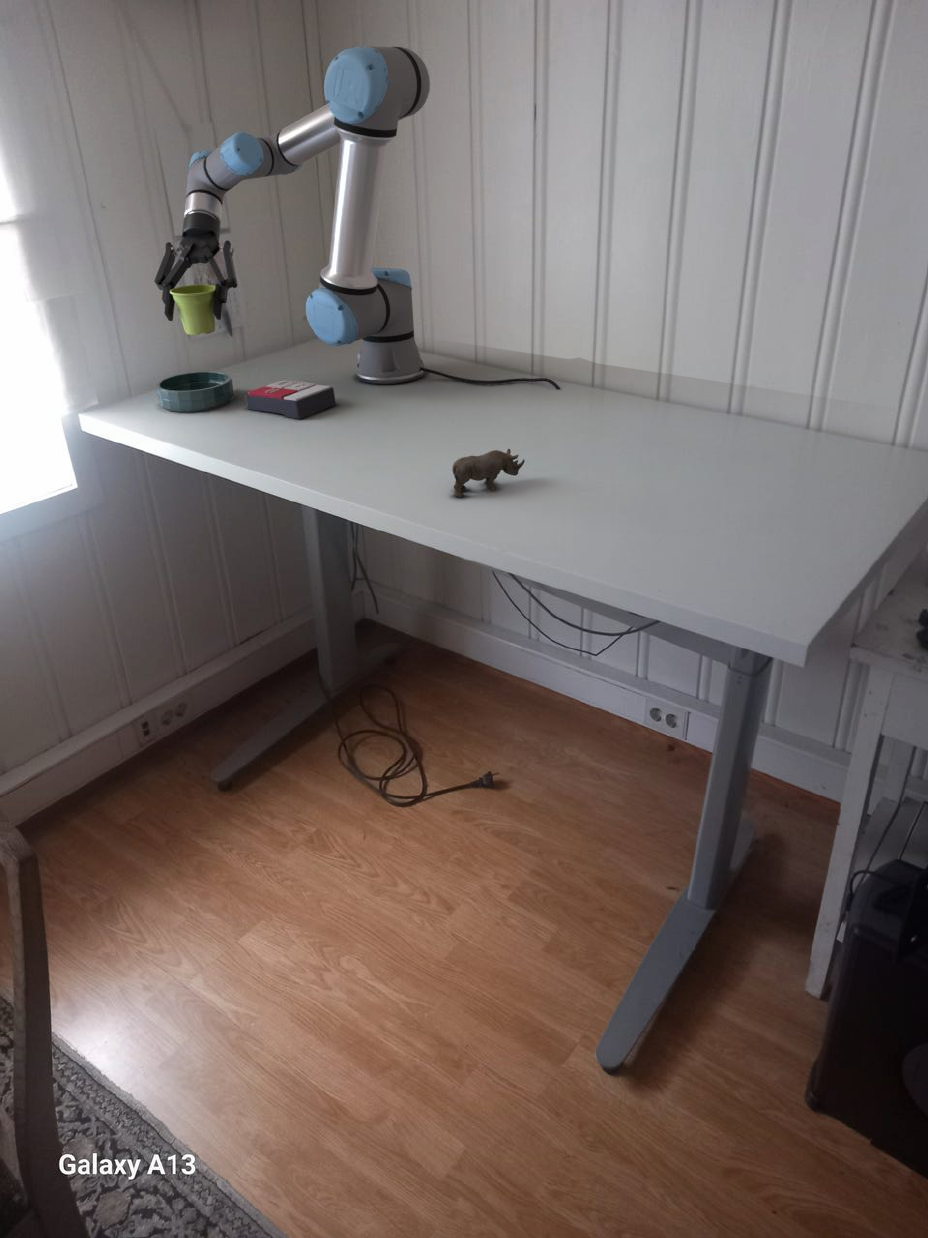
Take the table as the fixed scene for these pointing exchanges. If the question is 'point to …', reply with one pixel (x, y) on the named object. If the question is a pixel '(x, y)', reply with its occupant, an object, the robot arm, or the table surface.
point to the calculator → (291, 398)
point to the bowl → (195, 391)
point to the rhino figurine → (484, 469)
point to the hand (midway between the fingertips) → (192, 316)
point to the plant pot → (196, 308)
